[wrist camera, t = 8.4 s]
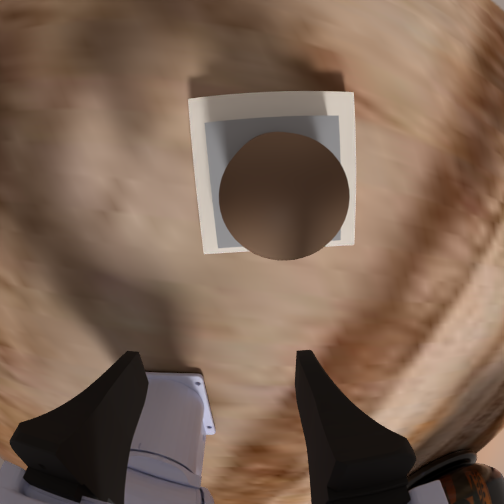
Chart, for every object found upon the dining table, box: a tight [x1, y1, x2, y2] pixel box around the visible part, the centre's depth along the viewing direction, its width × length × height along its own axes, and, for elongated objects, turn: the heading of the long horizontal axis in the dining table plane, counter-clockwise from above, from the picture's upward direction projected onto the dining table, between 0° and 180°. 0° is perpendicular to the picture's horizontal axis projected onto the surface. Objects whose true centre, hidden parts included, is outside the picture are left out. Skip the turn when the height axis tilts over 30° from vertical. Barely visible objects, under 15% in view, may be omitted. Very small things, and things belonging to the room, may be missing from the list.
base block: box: [188, 91, 356, 254], centre depth 20 cm, size 10×10×2 cm
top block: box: [205, 116, 341, 248], centre depth 18 cm, size 7×7×2 cm
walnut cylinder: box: [219, 132, 350, 260], centre depth 14 cm, size 5×5×5 cm
